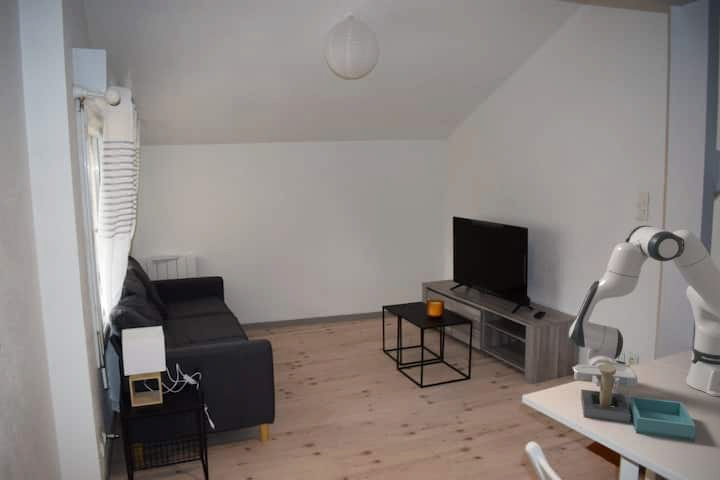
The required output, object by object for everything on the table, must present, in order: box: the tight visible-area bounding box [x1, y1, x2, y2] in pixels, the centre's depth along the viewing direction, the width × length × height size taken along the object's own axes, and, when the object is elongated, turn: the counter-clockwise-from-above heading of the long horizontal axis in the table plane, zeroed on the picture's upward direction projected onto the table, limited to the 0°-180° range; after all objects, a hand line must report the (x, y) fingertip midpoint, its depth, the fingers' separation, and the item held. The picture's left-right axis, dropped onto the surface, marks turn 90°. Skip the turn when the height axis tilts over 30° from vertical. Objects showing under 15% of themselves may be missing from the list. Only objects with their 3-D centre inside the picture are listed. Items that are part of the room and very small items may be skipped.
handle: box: [599, 364, 616, 407], centre depth 183 cm, size 5×6×15 cm
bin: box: [628, 395, 696, 442], centre depth 174 cm, size 16×16×5 cm
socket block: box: [580, 388, 631, 424], centre depth 184 cm, size 14×14×4 cm
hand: (607, 385), depth 182 cm, fingers closed on handle, 3 cm apart
